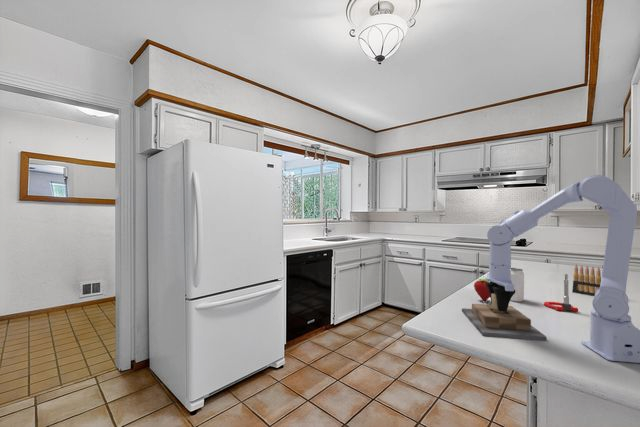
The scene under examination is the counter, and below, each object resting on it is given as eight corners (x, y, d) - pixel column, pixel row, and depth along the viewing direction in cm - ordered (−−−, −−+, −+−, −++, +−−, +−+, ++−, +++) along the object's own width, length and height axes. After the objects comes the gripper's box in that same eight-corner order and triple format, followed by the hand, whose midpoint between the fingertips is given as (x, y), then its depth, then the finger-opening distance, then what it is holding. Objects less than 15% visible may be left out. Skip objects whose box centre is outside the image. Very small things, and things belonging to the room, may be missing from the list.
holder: (546, 340, 80) (546, 325, 80) (482, 335, 83) (482, 321, 83) (512, 314, 100) (512, 302, 100) (461, 311, 103) (461, 299, 102)
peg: (506, 322, 90) (504, 295, 90) (495, 322, 90) (493, 296, 90) (502, 318, 92) (499, 292, 93) (491, 318, 93) (489, 293, 93)
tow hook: (539, 304, 112) (554, 311, 103) (538, 269, 112) (554, 274, 103) (563, 305, 111) (581, 312, 102) (563, 270, 111) (581, 275, 102)
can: (504, 300, 115) (505, 269, 114) (503, 296, 120) (503, 266, 120) (524, 303, 112) (525, 271, 111) (522, 298, 117) (523, 268, 117)
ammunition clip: (572, 292, 126) (572, 264, 126) (573, 291, 127) (574, 263, 127) (606, 298, 118) (607, 268, 118) (607, 297, 119) (608, 268, 119)
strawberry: (492, 304, 109) (492, 277, 109) (471, 299, 115) (471, 274, 115) (497, 301, 113) (498, 275, 113) (477, 297, 119) (477, 272, 119)
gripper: (477, 259, 99) (477, 300, 99) (495, 268, 84) (494, 315, 85) (500, 260, 97) (500, 301, 98) (522, 269, 83) (521, 317, 83)
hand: (499, 308), depth 91 cm, fingers open, 4 cm apart
